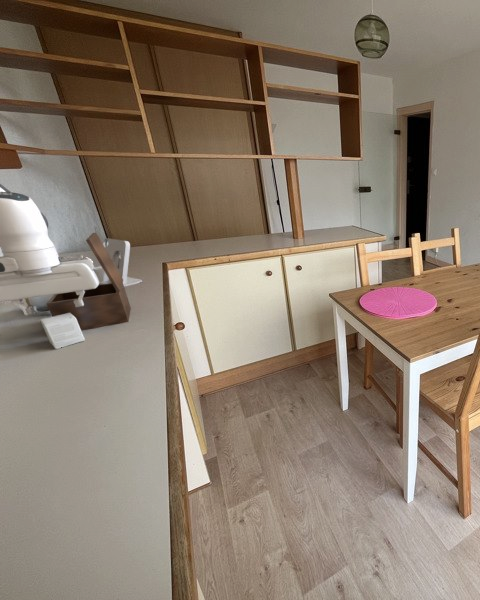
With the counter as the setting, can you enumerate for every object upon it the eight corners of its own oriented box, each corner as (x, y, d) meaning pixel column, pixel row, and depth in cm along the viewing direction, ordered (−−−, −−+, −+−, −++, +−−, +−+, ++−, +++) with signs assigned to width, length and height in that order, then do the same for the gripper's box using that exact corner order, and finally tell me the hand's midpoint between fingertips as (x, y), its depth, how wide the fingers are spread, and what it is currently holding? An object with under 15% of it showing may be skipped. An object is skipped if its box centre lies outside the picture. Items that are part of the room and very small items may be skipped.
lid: (85, 240, 88) (89, 239, 89) (92, 233, 98) (95, 232, 99) (117, 292, 96) (120, 291, 96) (120, 280, 106) (123, 279, 106)
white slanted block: (79, 334, 91) (70, 311, 88) (85, 341, 88) (76, 317, 85) (49, 343, 86) (39, 319, 84) (54, 349, 83) (43, 325, 81)
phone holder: (92, 282, 134) (77, 240, 127) (120, 276, 143) (107, 237, 136) (117, 288, 128) (102, 245, 121) (144, 281, 136) (131, 240, 130)
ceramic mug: (33, 308, 107) (24, 287, 104) (67, 302, 113) (59, 282, 110) (30, 319, 100) (20, 296, 97) (66, 312, 106) (57, 291, 103)
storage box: (59, 334, 91) (46, 303, 87) (69, 318, 101) (57, 289, 98) (128, 321, 100) (119, 293, 96) (130, 308, 110) (122, 281, 106)
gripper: (91, 252, 87) (108, 298, 92) (-23, 262, 75) (3, 314, 81) (88, 256, 82) (105, 305, 87) (-35, 268, 71) (-6, 323, 76)
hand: (55, 309), depth 84 cm, fingers open, 8 cm apart
